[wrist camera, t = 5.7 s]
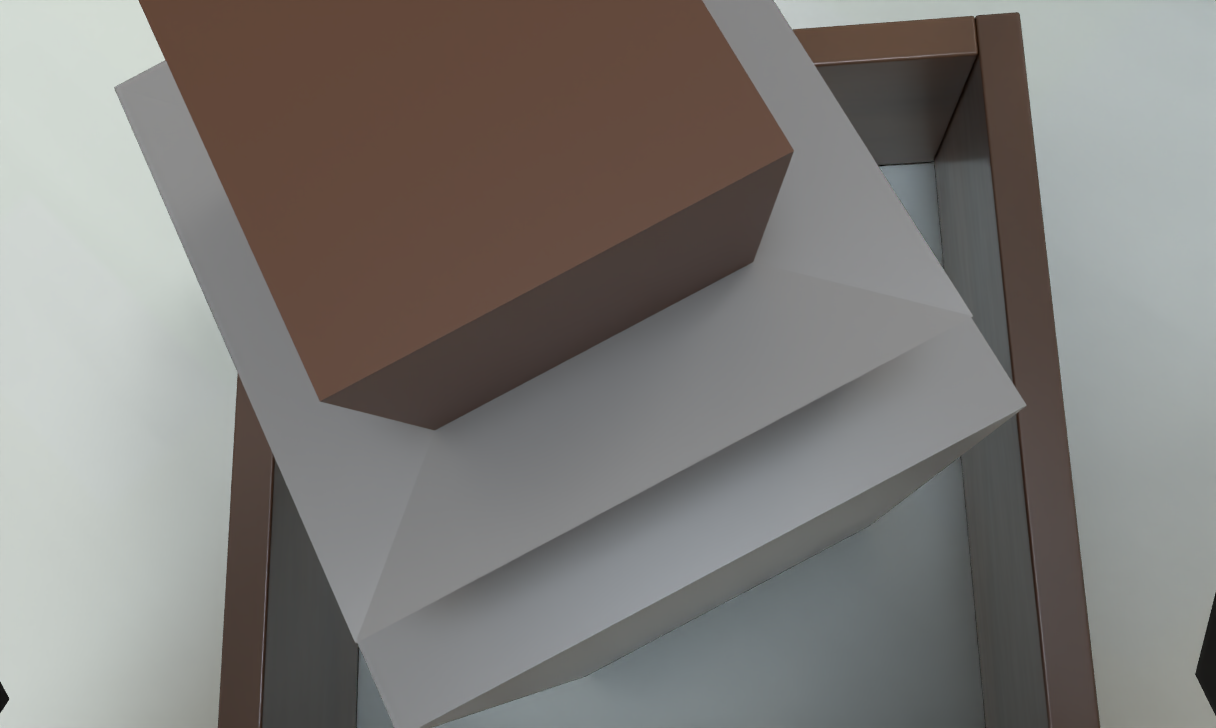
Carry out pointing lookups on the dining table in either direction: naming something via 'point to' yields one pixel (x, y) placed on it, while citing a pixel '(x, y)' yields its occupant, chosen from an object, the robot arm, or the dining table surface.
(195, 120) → the perfume bottle
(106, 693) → the dining table surface
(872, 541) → the dining table surface
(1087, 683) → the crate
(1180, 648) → the dining table surface
